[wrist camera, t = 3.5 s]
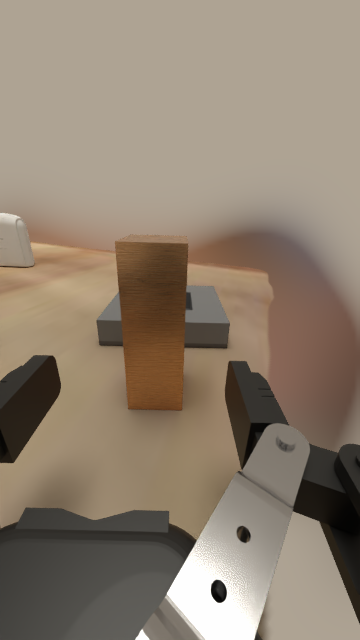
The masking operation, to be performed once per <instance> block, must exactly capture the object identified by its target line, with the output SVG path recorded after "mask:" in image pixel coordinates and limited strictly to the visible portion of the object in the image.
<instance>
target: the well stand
mask: <svg viewBox="0 0 360 640" xmlns="http://www.w3.org/2000/svg"><path fill="white" fill-rule="evenodd" d="M229 326H230V323H229V320H228V318H227V316H226V314H225V311H224V309H223V307H222V305H221V302H220V300H219V298H218V296H217V293H216V291H215V289H214V286H187V288H186V314H185V340H184V347H202V348H227V343H228V334H229ZM97 328H98V336H99V344H100V345H120V346H123V335H122V322H121V310H120V298H119V292H118V293H117V295H116V296H115V297H114V298H113V300H112V301H111V302H110V304H109V305H108V306H107V307H106V309H105V310H104V311H103V312H102V314H101V315H100V316H99V318H98V319H97Z"/></svg>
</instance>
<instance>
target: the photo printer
mask: <svg viewBox="0 0 360 640" xmlns="http://www.w3.org/2000/svg"><path fill="white" fill-rule="evenodd" d="M34 263H35V262H34V257H33V253H32V249H31V244H30V240H29V236H28V232H27V227H26V224H25V222H24V220H23V219H22V218H20V217H18V216H15V215H11V214H7V213H0V266H17V267H30V266H33V265H34Z"/></svg>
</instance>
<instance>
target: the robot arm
mask: <svg viewBox="0 0 360 640" xmlns="http://www.w3.org/2000/svg"><path fill="white" fill-rule="evenodd" d="M60 389H61V382H60V377H59V373H58V368H57V364H56V360H55V357H54V356H47V355H34V356H33V357H32V358H31V359H30V360H29V361H28V362H27V363H25V364H24V365H23V366H20V367H18V368H17V369H15V370H13V371H11V372H10V373H8V374H7V375H6V376H5V377H4V378H3V379H2V380H1V381H0V463H14V462H15V460H16V459H17V457H18V456H19V454H20V453H21V451H22V450H23V448H24V447H25V445H26V444H27V442H28V441H29V439H30V438H31V436H32V435H33V433H34V432H35V430H36V429H37V427H38V426H39V424H40V423H41V421H42V420H43V418H44V417H45V415H46V414H47V412H48V411H49V409H50V408H51V406H52V405H53V403H54V402H55V400H56V399H57V397H58V396H59V393H60ZM225 400H226V405H227V409H228V413H229V418H230V422H231V426H232V431H233V435H234V439H235V443H236V448H237V452H238V456H239V461H240V465H241V469H242V471H241V472H240V471H238V472H237V473H236V474H235V476H234V477H233V479H232V481H231V482H230V484H229V486H228V488H227V489H226V491H225V493H224V495H223V496H222V498H221V500H220V502H219V503H218V505H217V507H216V509H215V510H214V512H213V514H212V516H211V517H210V519H209V521H208V523H207V524H206V526H205V528H204V530H203V531H202V533H201V535H200V537H199V538H198V540H196V539H195V538H194V537H192V536H191V535H190V534H189V533H187V532H186V531H185V530H183V529H181V528H179V527H177V526H175V525H172V524H170V523H169V511H143V510H133V511H129V512H126V513H122V514H118V515H114V516H111V517H107V518H103V519H99V520H91V519H88V518H85V517H83V516H80V515H77V514H74V513H72V512H69V511H66V510H64V509H58V508H25V510H24V512H23V514H22V516H21V518H20V520H19V522H16V523H13V524H10V525H8V526H5V527H3V528H1V527H0V640H262V639H261V637H260V636H259V634H258V632H257V628H258V625H259V621H260V618H261V615H262V612H263V608H264V605H265V602H266V598H267V595H268V592H269V588H270V585H271V582H272V578H273V575H274V572H275V568H276V565H277V562H278V558H279V555H280V551H281V549H282V545H283V542H284V539H285V535H286V532H287V528H288V525H289V522H290V519H291V515H292V512H293V511H294V512H296V513H299V514H302V515H304V516H307V517H310V518H312V519H315V520H317V521H319V522H320V524H321V527H322V529H323V532H324V534H325V537H326V539H327V542H328V544H329V547H330V550H331V552H332V555H333V557H334V560H335V562H336V565H337V567H338V570H339V572H340V575H341V578H342V580H343V583H344V585H345V588H346V590H347V593H348V595H349V598H350V600H351V603H352V605H353V608H354V611H355V613H356V616H357V618H358V621H359V623H360V445H356V444H346V445H343V446H342V447H341V449H340V450H339V452H338V453H337V452H333V451H330V450H327V449H323V448H320V447H317V446H314V445H311V444H309V443H308V441H307V440H306V438H305V437H304V436H303V435H302V434H301V433H300V432H299V431H297V430H296V429H295V428H293V427H291V426H289V424H288V422H287V420H286V418H285V416H284V414H283V412H282V410H281V408H280V406H279V404H278V402H277V400H276V399H275V398H274V394H273V392H272V391H271V388H270V386H269V384H268V382H267V380H266V379H265V378H263V377H262V376H261V375H260V374H259V373H253V372H251V371H250V368H249V366H248V364H247V362H246V361H229V363H228V370H227V378H226V385H225Z"/></svg>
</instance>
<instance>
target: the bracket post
mask: <svg viewBox="0 0 360 640" xmlns="http://www.w3.org/2000/svg"><path fill="white" fill-rule="evenodd" d="M115 248H116V260H117V273H118V285H119V298H120V310H121V322H122V335H123V347H124V360H125V372H126V385H127V397H128V409H152V410H182V392H183V366H184V340H185V314H186V288H187V262H188V240H187V237H186V236H160V235H129V236H126V237H124V238H122V239H120V240H118V241H115Z"/></svg>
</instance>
